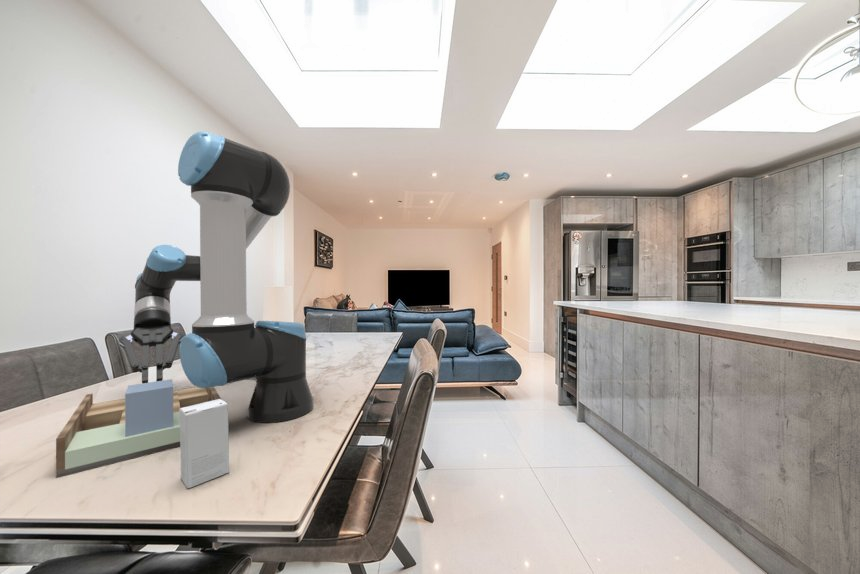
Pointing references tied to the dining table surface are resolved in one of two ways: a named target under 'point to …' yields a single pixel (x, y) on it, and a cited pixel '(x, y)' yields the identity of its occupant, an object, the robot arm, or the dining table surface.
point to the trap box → (114, 414)
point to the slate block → (148, 407)
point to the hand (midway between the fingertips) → (152, 393)
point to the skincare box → (204, 442)
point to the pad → (116, 443)
